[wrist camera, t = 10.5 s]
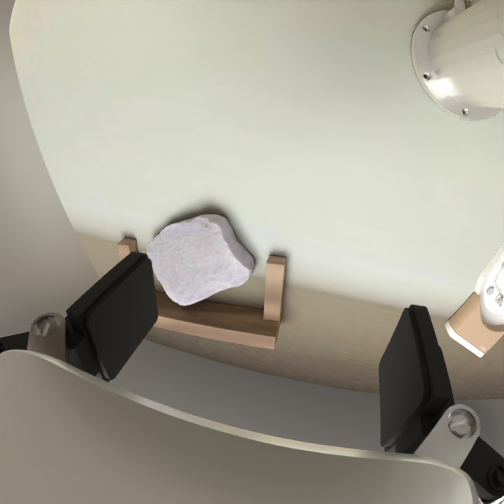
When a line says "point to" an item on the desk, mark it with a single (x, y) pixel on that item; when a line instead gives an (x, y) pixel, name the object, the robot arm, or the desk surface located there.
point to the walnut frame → (224, 310)
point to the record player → (482, 310)
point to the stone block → (199, 258)
